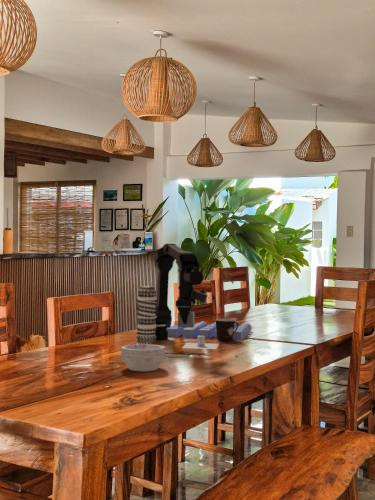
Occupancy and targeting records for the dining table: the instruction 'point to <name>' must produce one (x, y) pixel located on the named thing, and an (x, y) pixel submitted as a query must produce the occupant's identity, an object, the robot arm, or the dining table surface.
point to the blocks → (206, 331)
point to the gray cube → (189, 320)
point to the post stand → (200, 344)
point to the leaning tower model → (146, 315)
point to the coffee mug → (225, 329)
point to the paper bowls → (143, 357)
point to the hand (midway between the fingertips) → (185, 323)
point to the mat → (177, 355)
